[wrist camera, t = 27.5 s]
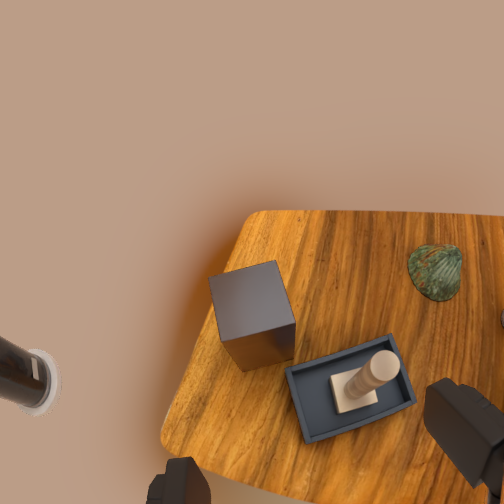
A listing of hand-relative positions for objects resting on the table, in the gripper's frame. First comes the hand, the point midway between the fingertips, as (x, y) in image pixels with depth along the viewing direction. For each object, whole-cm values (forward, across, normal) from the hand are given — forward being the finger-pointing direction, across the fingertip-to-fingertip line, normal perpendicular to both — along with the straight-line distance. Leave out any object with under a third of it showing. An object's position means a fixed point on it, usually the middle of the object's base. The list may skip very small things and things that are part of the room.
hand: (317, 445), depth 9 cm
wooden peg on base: (+24, -8, +19) cm, 31 cm away
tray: (+24, -8, +19) cm, 32 cm away
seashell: (+33, -28, +11) cm, 45 cm away
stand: (+31, +1, +12) cm, 34 cm away
